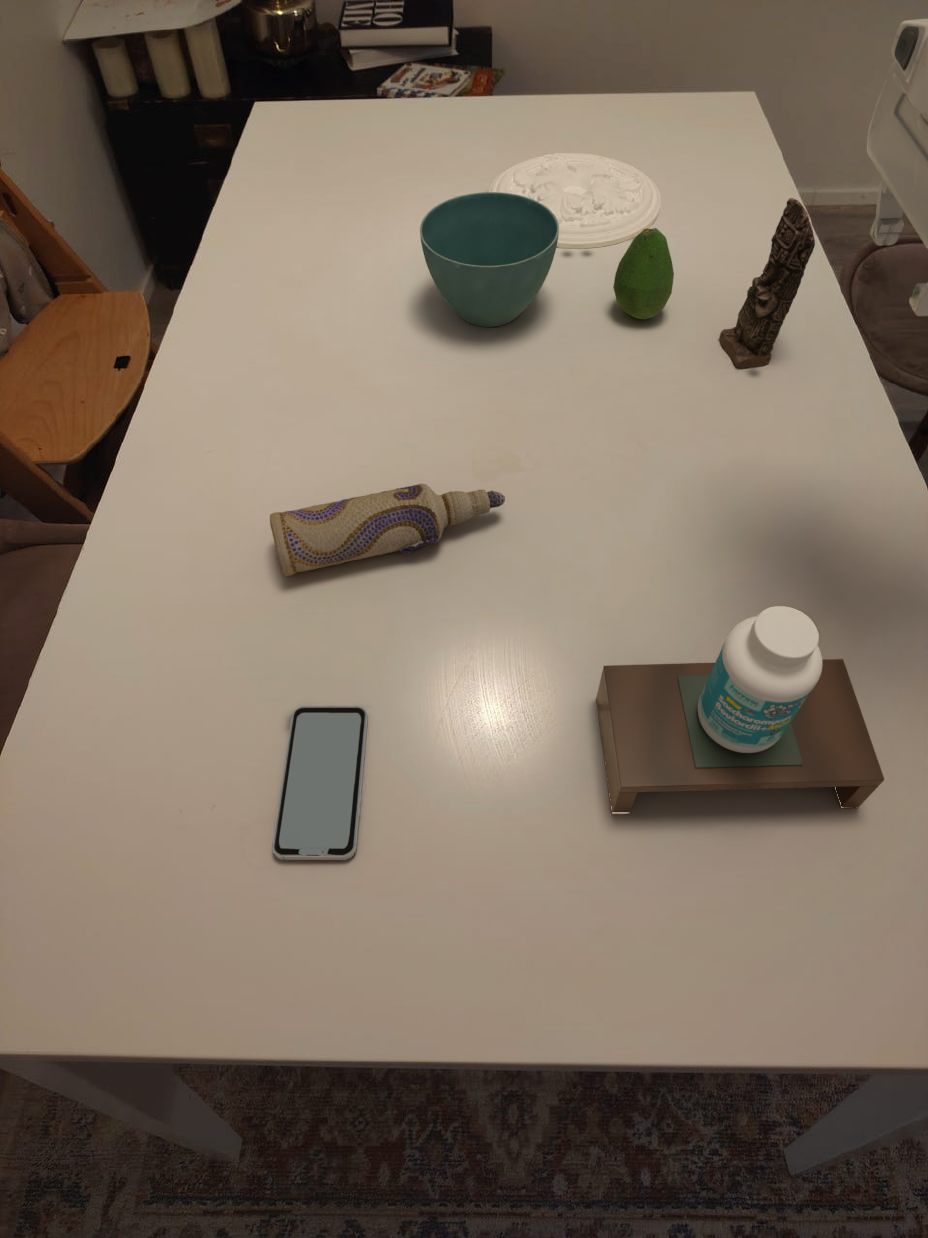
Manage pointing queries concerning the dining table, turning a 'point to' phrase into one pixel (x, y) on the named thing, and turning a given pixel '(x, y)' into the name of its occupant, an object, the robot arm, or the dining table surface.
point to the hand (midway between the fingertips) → (900, 274)
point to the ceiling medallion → (586, 196)
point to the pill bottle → (760, 679)
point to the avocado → (644, 275)
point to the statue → (772, 291)
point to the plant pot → (489, 253)
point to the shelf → (692, 761)
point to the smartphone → (321, 784)
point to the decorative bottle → (371, 525)
